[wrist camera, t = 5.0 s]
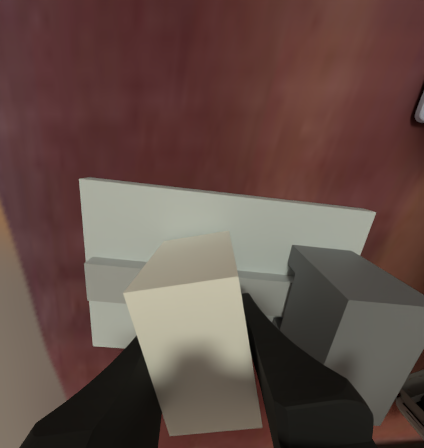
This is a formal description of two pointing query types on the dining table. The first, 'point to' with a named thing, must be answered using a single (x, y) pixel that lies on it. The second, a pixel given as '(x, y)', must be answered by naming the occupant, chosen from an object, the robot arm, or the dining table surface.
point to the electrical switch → (413, 401)
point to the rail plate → (263, 274)
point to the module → (195, 335)
